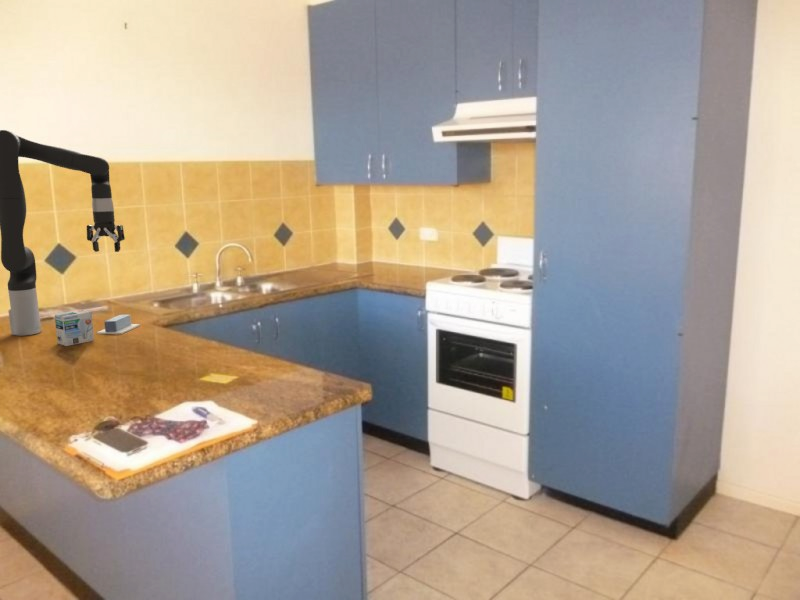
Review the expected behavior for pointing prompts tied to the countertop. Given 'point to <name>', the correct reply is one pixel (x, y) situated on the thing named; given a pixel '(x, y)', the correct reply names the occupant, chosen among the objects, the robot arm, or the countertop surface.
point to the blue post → (117, 323)
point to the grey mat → (120, 330)
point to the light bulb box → (74, 327)
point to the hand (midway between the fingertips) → (107, 251)
